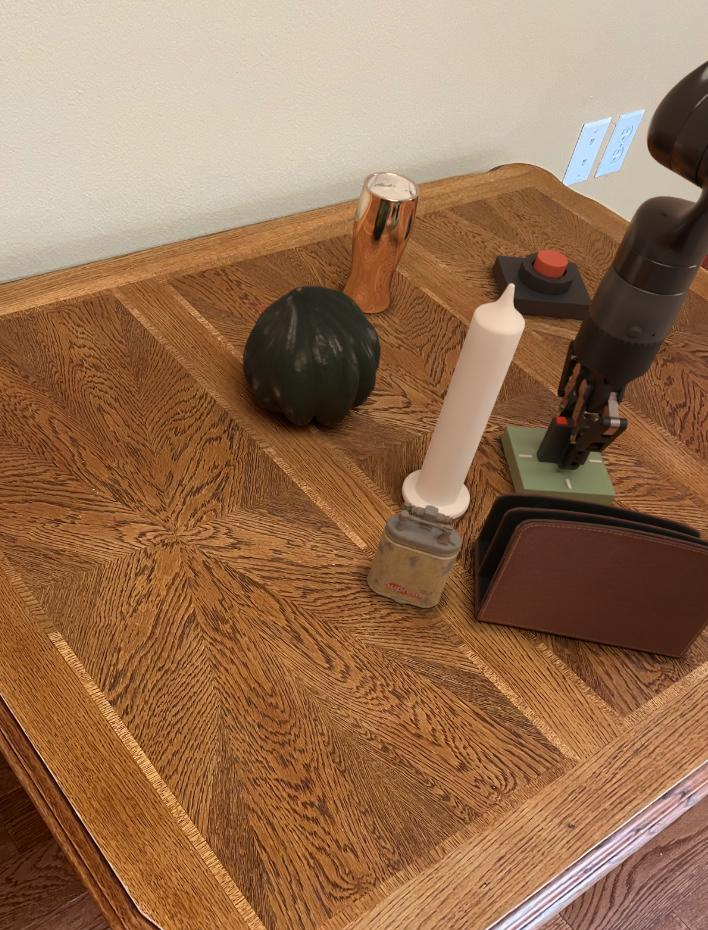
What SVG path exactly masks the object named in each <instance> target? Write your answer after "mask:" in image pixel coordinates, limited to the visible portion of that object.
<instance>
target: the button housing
mask: <svg viewBox="0 0 708 930" xmlns="http://www.w3.org/2000/svg"><path fill="white" fill-rule="evenodd" d="M538 253H539V252H534V253H530V254H526V256H524V257H519V256H509V255H499V254H497V255H496V258H495V261H494V263H493V267H492V270H491V271H492V273H493V277H494V280H495V283H496V286H497V289H498V292H499V295H500V297H501V296H502V294H503V293H504V291H505V290H506V288H507V287H508V285H509V284H511V283H512V284H514V285H515V289H514V298H513V304H514V308H515V309H516V310H517V311H518V312H519V313H520V314H521V315H528V316H529V315H530V316H538V317H539V316H540V317H550V318H551V317H552V318H563V319H574V320H575V319H576V320H583V319H584V317H585V315H586V313H587V310H588V308H589V306H590V304H591V302H592V298H591V296H590V294H589V292H588V289H587V286H586V284H585V282H584V280H583V278H582V275H581V272H580V270H579V268H578V266H577V263H576V262H572V261H568V264H567V267H566V269H565V271H564V274H563V276H561V277H558V278H554V277H547V276H545V275H542V274H540V273H538V272H537V271H536V270H535V269H534V268H533V265H534V263H535V260H536V257H537V255H538Z"/></svg>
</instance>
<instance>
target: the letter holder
mask: <svg viewBox="0 0 708 930" xmlns="http://www.w3.org/2000/svg"><path fill="white" fill-rule="evenodd" d="M474 617H475V619H476V620H477V621H480V622H485V623H486V622H487V623H492V624H498V625H505V626H510V627H514V628H520V629H527V630H530V631H536V632H542V633H545V634H551V635H557V636H560V637H561V636H562V637H567V638H571V639H578V640H581V641H588V642H592V643H598V644H604V645H608V646H614V647H620V648H623V649H624V648H625V649H629V650H634V651H639V652H643V653H650V654H654V655H655V654H656V655H661V656H665V657H671V658H675V659H679V660H680V659H682V658H683V657H684V656H685V655H686V654H687V652H688V651H689V649H690V648H691V647H692V645H694V643H695V642H696V641H697V639H698V638H699V637H700V636H701V634H702V633H703V632H704V630H705V629H706V628H707V627H708V540H706V539H703V538H702V532H701V530H699V529H697V528H696V527H693V526H692V525H689V524H686V523H684V522H680V521H678V520H673V519H670V518H665V517H662V516H658V515H655V514H650V513H646V512H642V511H639V510H634V509H630V508H629V509H628V508H625V507H620V506H615V505H605V504H600V503H594V502H588V501H583V500H576V499H570V498H563V497H555V496H547V495H537V494H523V493H515V492H511V493H509V492H508V493H503V494H500V495H498V496H497V497H496V498H495V499H494V501H493V502H492V505H491V507H490V510H489V511H488V514H487V516H486V518H485V521H484V522H483V524H482V527H481V529H480V531H479V534H478V536H477V538H476V539H475V542H474Z"/></svg>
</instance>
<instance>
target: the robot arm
mask: <svg viewBox="0 0 708 930" xmlns="http://www.w3.org/2000/svg"><path fill="white" fill-rule="evenodd" d="M646 146H647V151H648V153H649V155H650V156H651V158H652V159H653V160H654V161H655V162H657V163H658V164H659V165H660V166H662V167H664V168H666V169H667V170H669V171H671V172H672V173H674V174H675V175H678V176H679V177H681V178H683V179H684V180H686V181H687V182H689V183H691V184H693V185H694V186H696V187H698V188H699V189H701V193H700V195H699V197H698V198H697V200H696V201H692V200H688V199H684V198H682V197H676V196H672V195H671V196H670V195H666V196H665V195H660V196H659V195H658V196H653V197H650V198H648V199H646V200H644V201H643V202H641V204H640V205H639V206H638V207H637V209H636V210H635V212H634V214H633V216H632V217H631V219H630V222H629V223H628V226H627V228H626V231H625V233H624V235H623V237H622V239H621V241H620V243H619V246H618V248H617V251H616V253H615V255H614V258H613V260H612V261H611V264H610V265H609V267H608V268H607V270H606V272H605V273H604V275H603V276H602V278H601V280H600V282H599V284H598V285H597V288H596V290H595V293H594V294H593V298H591V301H592V302H591V304H590V306H589V308H588V310H587V313H586V315H585V317H584V319H582V322H581V324H580V325H579V326H580V327H579V328H578V330H577V333H576V335H575V337H574V339H572V340H570V342H569V344H568V347H567V352H566V355H565V360H564V364H563V368H562V371H561V375H560V379H559V383H558V387H557V391H556V395H557V397H558V398H561V401H560V402H559V405H558V412H559V414H558V417H565V418H570V419H574V421H575V423H574V426H573V429H572V431H571V434H570V438H568V440H567V442H566V444H565V446H564V448H563V451H562V453H561V455H560V457H559V459H558V461H557V464H558V467H559V469H565V470H576V469H578V468H579V466H580V464H581V462H582V460H583V458H584V456H585V454H586V453H587V452H600V453H603V452H604V451H605V450H606V449H607V448H608V447H609V446H610V445H611V444H612V443H613V442H614V441H616V440H617V439H618V438H619V437H620V436H621V435H622V434H623V433H624V432H626V430H627V429H628V425H629V420H628V418H627V417H620V413H619V406H620V404H621V403H622V402H623V400H624V397H625V392H626V389H627V386H628V384H630V383H631V382H632V381H635V380H636V379H639V378H641V377H642V376H644V375H645V374H647V372H648V371H649V370H650V368H651V366H652V364H653V362H654V361H655V359H656V357H657V355H658V353H659V351H660V350H661V348H662V346H663V344H664V342H665V340H666V338H667V336H668V335H669V333H670V331H671V328H672V327H673V325H674V323H675V322H676V320H677V318H678V316H679V313H680V312H681V309H682V308H683V305H684V302H685V300H686V297H687V293H688V291H689V289H690V287H691V286H692V283H693V282H694V280H695V278H696V277H697V274H698V272H699V270H700V269H701V266H702V265H703V263H704V261H705V259H706V257H707V255H708V60H706V61H704V62H703V63H701V64H700V65H698V66H697V67H696V68H694V69H693V70H692V71H690V72H689V73H688V74H686V75H685V76H684V77H683V78H681V79H680V80H679V81H678V82H677V83H676V84H675V85H674V86H673V87H671V89H670V90H669V91H668V92H667V93H666V95H665V96H664V97H663V98H662V100H661V101H660V102H659V104H658V105H657V107H656V109H655V110H654V112H653V115H652V116H651V118H650V121H649V124H648V128H647V133H646ZM586 425H587V426H591V427H590V428H589V429H588V430H587V431H586V432H585V433H583V432H582V429H583V427H584V426H586Z"/></svg>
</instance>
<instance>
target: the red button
mask: <svg viewBox="0 0 708 930" xmlns="http://www.w3.org/2000/svg"><path fill="white" fill-rule="evenodd" d="M537 253H538V255H537V257H536V260H535V263H534V265H533V268H534V269H535V270H536V271H537V272H538V273H540V274H542V275H545V276H547V277H554V278H558V277H561V276H563V274H564V271H565V269H566V267H567V264H568V262H569V260H568V258H567V256H566V255H564V254H563V253H561V252H559V251H557V250H553V249H542V250H540V251H538V252H537Z"/></svg>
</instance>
